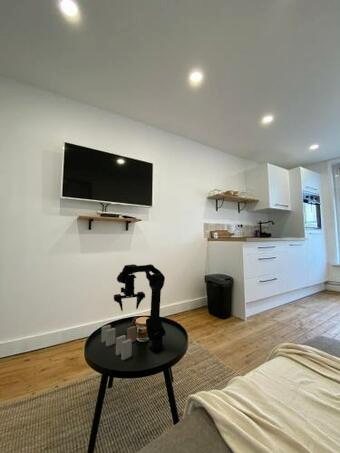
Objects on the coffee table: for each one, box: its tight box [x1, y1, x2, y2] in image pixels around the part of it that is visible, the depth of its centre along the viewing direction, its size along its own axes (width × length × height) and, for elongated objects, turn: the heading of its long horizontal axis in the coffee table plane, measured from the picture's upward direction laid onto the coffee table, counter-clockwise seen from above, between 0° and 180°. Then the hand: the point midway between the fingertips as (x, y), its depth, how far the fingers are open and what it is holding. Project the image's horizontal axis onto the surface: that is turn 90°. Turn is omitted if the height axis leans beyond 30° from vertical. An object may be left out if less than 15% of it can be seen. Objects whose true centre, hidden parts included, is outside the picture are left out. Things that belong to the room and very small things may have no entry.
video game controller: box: [130, 316, 138, 327], centre depth 135 cm, size 10×5×7 cm, turn 74°
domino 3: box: [115, 334, 127, 356], centre depth 105 cm, size 2×5×8 cm, turn 133°
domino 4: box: [120, 339, 133, 361], centre depth 101 cm, size 2×5×8 cm, turn 133°
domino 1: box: [100, 324, 112, 343], centre depth 117 cm, size 2×5×8 cm, turn 133°
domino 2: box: [105, 327, 116, 347], centre depth 113 cm, size 2×5×8 cm, turn 133°
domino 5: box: [126, 325, 137, 343], centre depth 116 cm, size 2×5×8 cm, turn 133°
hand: (129, 310), depth 127 cm, fingers open, 9 cm apart
